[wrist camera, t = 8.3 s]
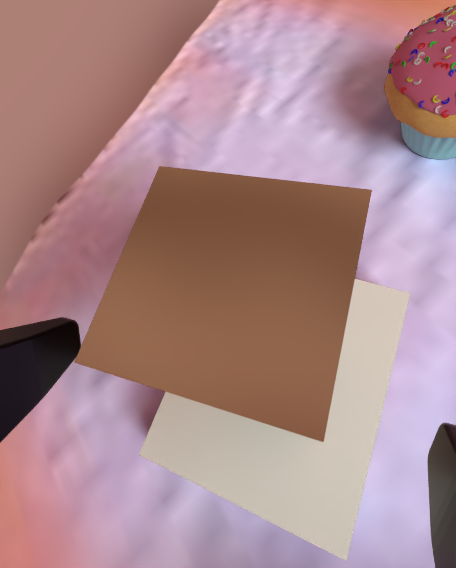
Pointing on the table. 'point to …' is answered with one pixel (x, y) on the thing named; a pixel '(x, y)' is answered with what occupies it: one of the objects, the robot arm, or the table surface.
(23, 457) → the table surface
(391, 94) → the cupcake
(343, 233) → the brown wooden block
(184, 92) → the table surface
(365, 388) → the plate
